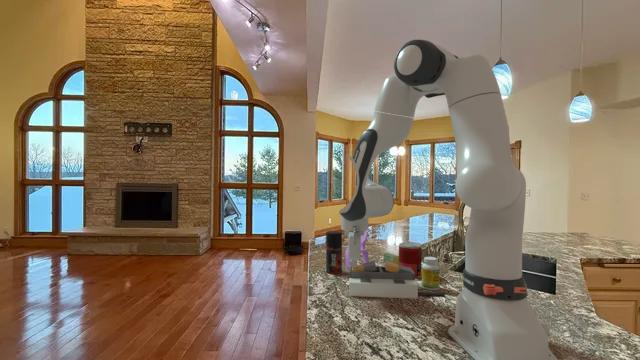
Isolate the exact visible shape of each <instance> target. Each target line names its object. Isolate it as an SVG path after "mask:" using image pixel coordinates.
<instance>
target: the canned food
mask: <svg viewBox="0 0 640 360" xmlns="http://www.w3.org/2000/svg"><path fill="white" fill-rule="evenodd" d="M398 256H399V265H401V266H404V267H411V269H412V270H413V272H414V273H415V278H419V277H422V245H421V244H419V243H415V242H401V243H398Z"/></svg>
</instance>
